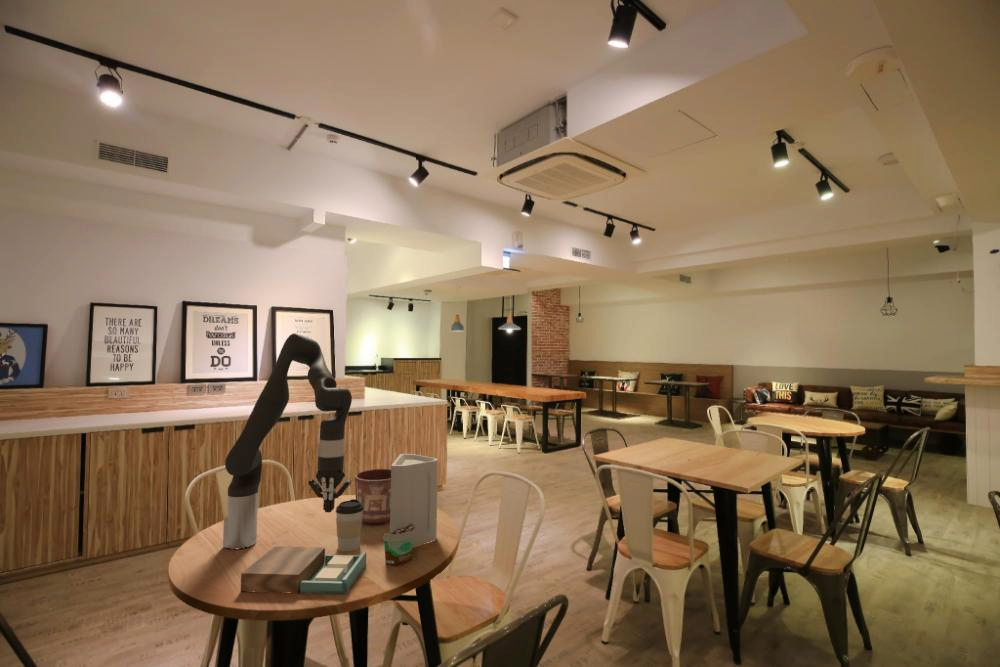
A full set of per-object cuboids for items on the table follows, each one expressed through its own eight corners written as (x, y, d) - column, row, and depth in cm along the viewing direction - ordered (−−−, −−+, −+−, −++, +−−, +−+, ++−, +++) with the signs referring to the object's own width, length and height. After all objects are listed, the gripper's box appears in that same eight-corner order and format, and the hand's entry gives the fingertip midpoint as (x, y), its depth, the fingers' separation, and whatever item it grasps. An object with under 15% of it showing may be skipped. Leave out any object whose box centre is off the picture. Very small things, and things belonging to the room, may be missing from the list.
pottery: (347, 517, 187) (348, 472, 188) (388, 509, 198) (389, 466, 198) (362, 532, 173) (364, 482, 173) (406, 522, 183) (408, 476, 184)
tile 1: (336, 578, 130) (335, 587, 130) (343, 568, 136) (343, 577, 136) (314, 577, 130) (314, 586, 130) (323, 567, 136) (323, 576, 136)
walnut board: (240, 591, 129) (241, 573, 129) (273, 562, 147) (274, 546, 147) (298, 593, 128) (298, 574, 128) (324, 564, 146) (325, 547, 146)
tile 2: (347, 564, 139) (347, 572, 139) (354, 555, 145) (353, 563, 145) (327, 563, 139) (327, 572, 139) (334, 555, 145) (334, 563, 145)
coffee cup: (354, 553, 154) (355, 507, 154) (329, 551, 156) (330, 505, 156) (367, 543, 163) (368, 499, 163) (343, 540, 164) (344, 497, 165)
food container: (396, 571, 142) (397, 538, 142) (382, 566, 145) (382, 533, 145) (423, 557, 152) (424, 525, 153) (409, 552, 155) (410, 521, 156)
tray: (300, 593, 128) (300, 578, 128) (326, 564, 146) (326, 550, 146) (345, 594, 128) (345, 579, 128) (366, 565, 146) (366, 551, 146)
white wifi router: (433, 550, 157) (435, 466, 159) (388, 550, 157) (390, 465, 158) (438, 529, 176) (440, 453, 178) (398, 529, 176) (400, 453, 177)
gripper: (304, 455, 139) (301, 514, 138) (348, 457, 139) (345, 516, 138) (315, 450, 147) (312, 506, 146) (356, 452, 146) (354, 508, 145)
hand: (328, 511), depth 142 cm, fingers closed
